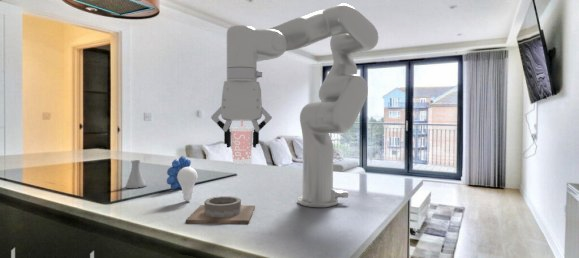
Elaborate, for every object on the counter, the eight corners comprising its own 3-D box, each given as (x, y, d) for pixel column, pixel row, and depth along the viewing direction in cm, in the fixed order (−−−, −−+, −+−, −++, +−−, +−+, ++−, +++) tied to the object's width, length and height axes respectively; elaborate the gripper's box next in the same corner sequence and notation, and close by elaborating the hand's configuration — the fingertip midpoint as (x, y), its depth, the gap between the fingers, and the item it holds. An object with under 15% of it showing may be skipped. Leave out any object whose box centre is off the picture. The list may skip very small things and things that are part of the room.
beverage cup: (224, 162, 86) (224, 107, 85) (240, 160, 91) (240, 108, 91) (243, 164, 83) (243, 107, 82) (258, 161, 88) (258, 107, 88)
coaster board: (254, 208, 100) (254, 194, 100) (248, 223, 86) (248, 207, 86) (200, 207, 100) (200, 194, 100) (185, 222, 86) (185, 207, 86)
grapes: (183, 185, 132) (183, 154, 131) (196, 186, 129) (196, 155, 128) (158, 190, 122) (158, 157, 121) (172, 193, 118) (171, 158, 118)
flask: (127, 185, 131) (126, 159, 130) (147, 184, 133) (147, 158, 132) (123, 189, 124) (123, 162, 123) (145, 188, 126) (145, 161, 125)
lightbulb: (191, 204, 103) (191, 168, 103) (173, 203, 105) (173, 168, 104) (201, 199, 109) (200, 165, 109) (183, 198, 111) (183, 165, 110)
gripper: (275, 78, 90) (275, 145, 91) (210, 77, 90) (210, 145, 90) (275, 75, 83) (275, 148, 84) (204, 74, 82) (204, 148, 83)
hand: (241, 146), depth 87 cm, fingers closed on beverage cup, 6 cm apart
